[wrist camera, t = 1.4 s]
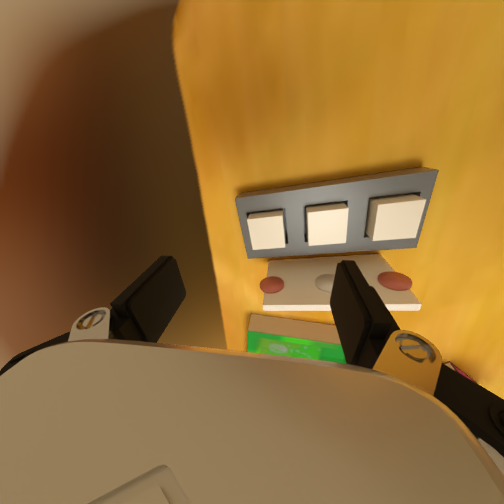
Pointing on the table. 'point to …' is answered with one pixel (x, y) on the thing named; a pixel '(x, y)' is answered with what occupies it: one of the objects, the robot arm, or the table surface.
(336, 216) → the middle button
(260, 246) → the button
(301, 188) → the button panel
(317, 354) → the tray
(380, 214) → the button
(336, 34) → the table surface
